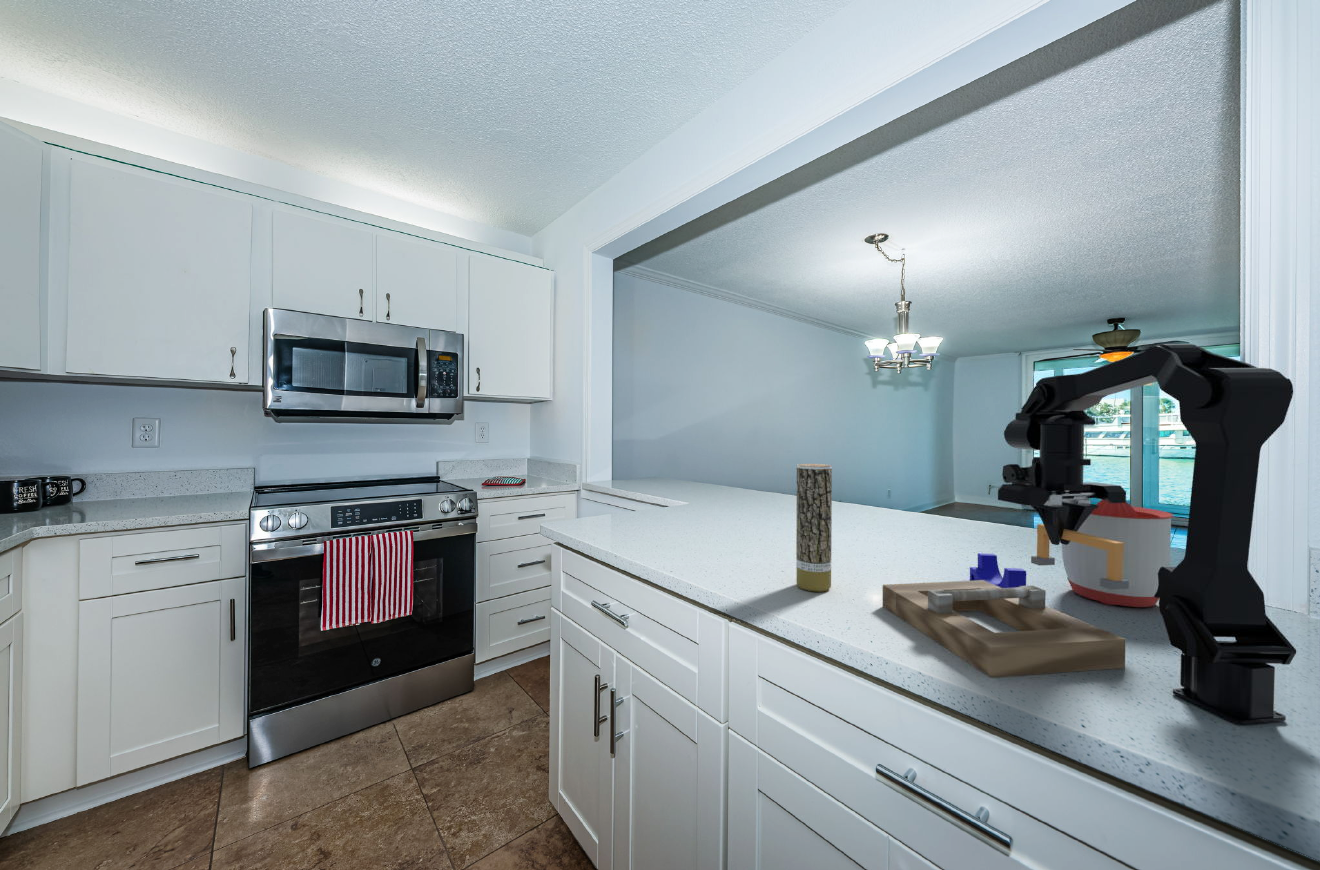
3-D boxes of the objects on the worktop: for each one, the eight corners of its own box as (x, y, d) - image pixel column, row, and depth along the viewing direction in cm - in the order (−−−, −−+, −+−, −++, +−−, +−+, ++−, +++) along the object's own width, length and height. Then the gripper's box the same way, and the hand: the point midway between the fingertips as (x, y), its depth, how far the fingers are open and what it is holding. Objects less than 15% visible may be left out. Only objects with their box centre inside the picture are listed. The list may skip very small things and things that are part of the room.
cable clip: (969, 580, 104) (970, 552, 103) (992, 581, 103) (993, 553, 103) (999, 601, 92) (999, 569, 92) (1025, 602, 91) (1026, 570, 91)
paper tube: (838, 590, 97) (839, 465, 97) (811, 594, 95) (811, 467, 94) (816, 580, 104) (816, 463, 103) (789, 584, 101) (789, 464, 101)
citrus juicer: (1114, 582, 101) (1116, 487, 101) (1198, 615, 84) (1201, 500, 84) (1034, 580, 103) (1036, 486, 103) (1100, 612, 86) (1102, 499, 85)
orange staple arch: (1128, 588, 73) (1129, 543, 72) (1110, 589, 72) (1112, 543, 72) (1046, 562, 86) (1047, 523, 86) (1031, 562, 86) (1031, 524, 86)
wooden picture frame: (1124, 667, 66) (1125, 617, 66) (990, 677, 64) (991, 624, 64) (982, 601, 91) (983, 564, 91) (882, 606, 89) (882, 568, 89)
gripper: (1065, 448, 91) (1064, 532, 91) (973, 450, 89) (972, 535, 89) (1129, 452, 80) (1127, 547, 80) (1026, 453, 78) (1025, 551, 78)
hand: (1059, 544), depth 82 cm, fingers closed on orange staple arch
